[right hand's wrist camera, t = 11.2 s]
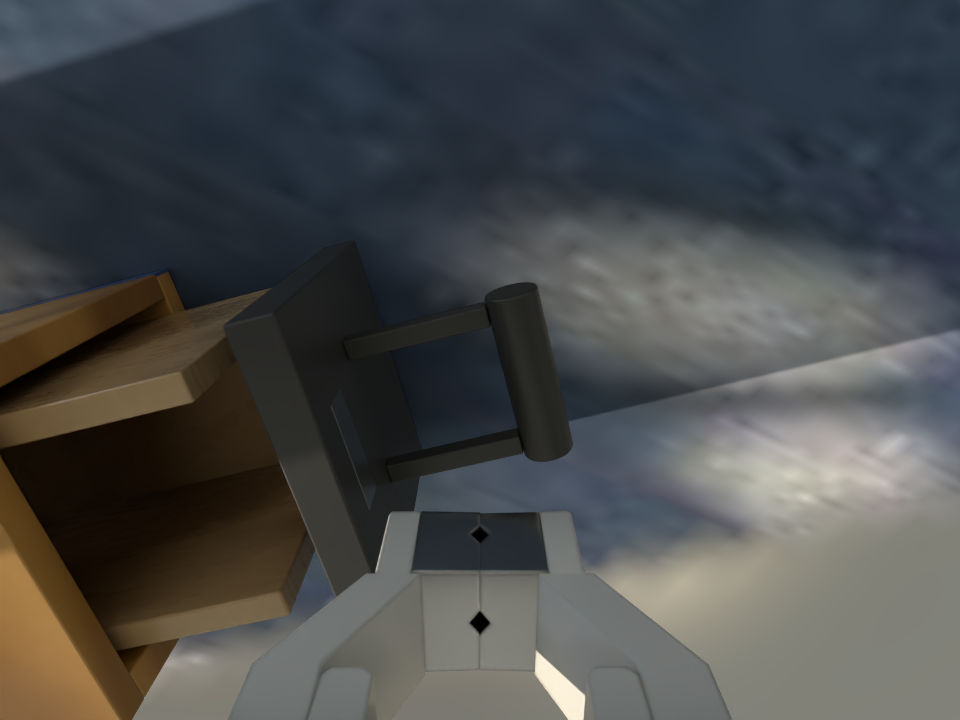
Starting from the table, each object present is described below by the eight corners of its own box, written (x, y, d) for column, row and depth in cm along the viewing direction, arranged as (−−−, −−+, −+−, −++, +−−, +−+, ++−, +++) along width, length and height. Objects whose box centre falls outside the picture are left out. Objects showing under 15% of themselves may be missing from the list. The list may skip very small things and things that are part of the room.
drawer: (512, 198, 21) (535, 246, 13) (564, 423, 24) (610, 584, 16) (-53, 345, 23) (-367, 473, 14) (60, 537, 26) (-146, 738, 17)
